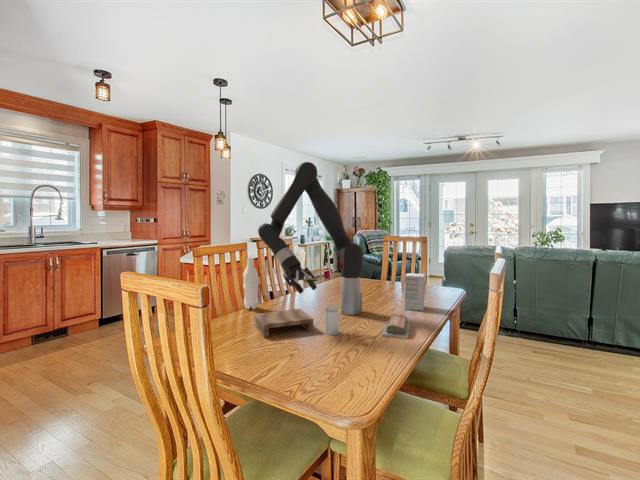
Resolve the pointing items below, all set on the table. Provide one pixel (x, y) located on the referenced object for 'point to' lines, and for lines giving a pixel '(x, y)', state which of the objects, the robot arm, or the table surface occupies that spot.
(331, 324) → the tumbler
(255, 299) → the water bottle
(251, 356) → the table surface
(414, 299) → the supplement box
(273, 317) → the shelf riser
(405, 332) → the packaged product
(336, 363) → the table surface
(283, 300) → the table surface
